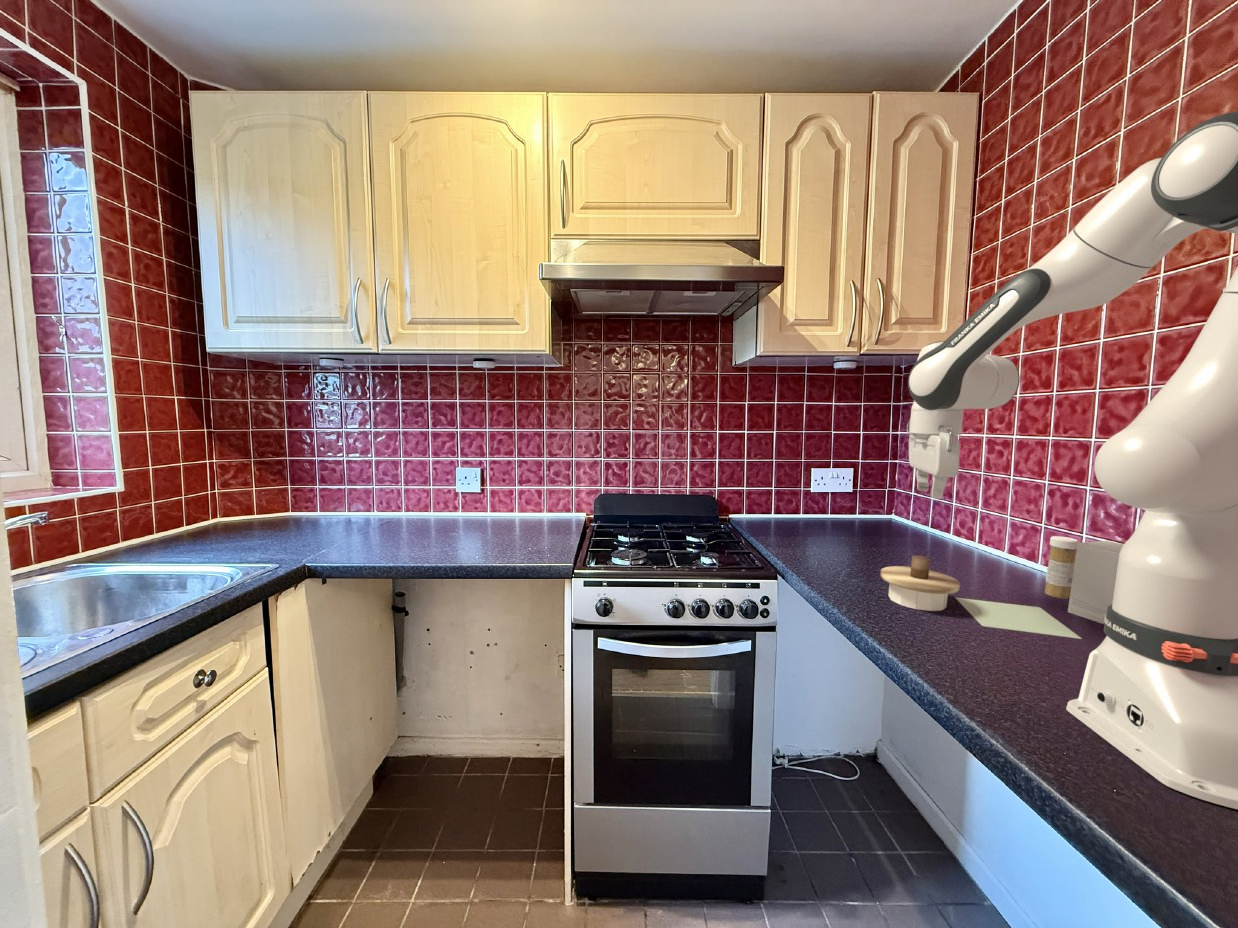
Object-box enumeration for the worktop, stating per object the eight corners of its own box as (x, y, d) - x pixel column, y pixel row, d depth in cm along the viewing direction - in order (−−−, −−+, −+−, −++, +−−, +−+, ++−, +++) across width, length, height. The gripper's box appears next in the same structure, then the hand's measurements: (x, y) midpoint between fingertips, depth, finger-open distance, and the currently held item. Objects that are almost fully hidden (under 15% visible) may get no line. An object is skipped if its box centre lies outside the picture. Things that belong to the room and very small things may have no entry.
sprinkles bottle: (1054, 593, 114) (1061, 535, 112) (1076, 601, 109) (1084, 540, 108) (1037, 595, 113) (1045, 535, 111) (1059, 602, 108) (1067, 541, 107)
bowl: (952, 617, 99) (954, 592, 98) (894, 610, 102) (896, 586, 101) (936, 599, 108) (938, 576, 108) (884, 593, 111) (886, 571, 111)
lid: (970, 597, 96) (973, 572, 95) (888, 588, 100) (890, 563, 99) (946, 575, 109) (948, 552, 108) (874, 567, 113) (876, 545, 112)
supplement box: (1121, 634, 93) (1133, 554, 92) (1065, 615, 102) (1075, 541, 100) (1152, 628, 96) (1163, 551, 94) (1095, 610, 105) (1104, 539, 103)
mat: (1081, 642, 89) (1082, 638, 89) (981, 629, 93) (982, 625, 93) (1039, 611, 103) (1039, 607, 103) (954, 601, 108) (955, 597, 108)
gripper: (973, 427, 90) (965, 504, 92) (937, 425, 110) (932, 488, 111) (932, 426, 92) (926, 501, 93) (905, 424, 111) (899, 486, 113)
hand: (929, 494), depth 102 cm, fingers open, 8 cm apart
